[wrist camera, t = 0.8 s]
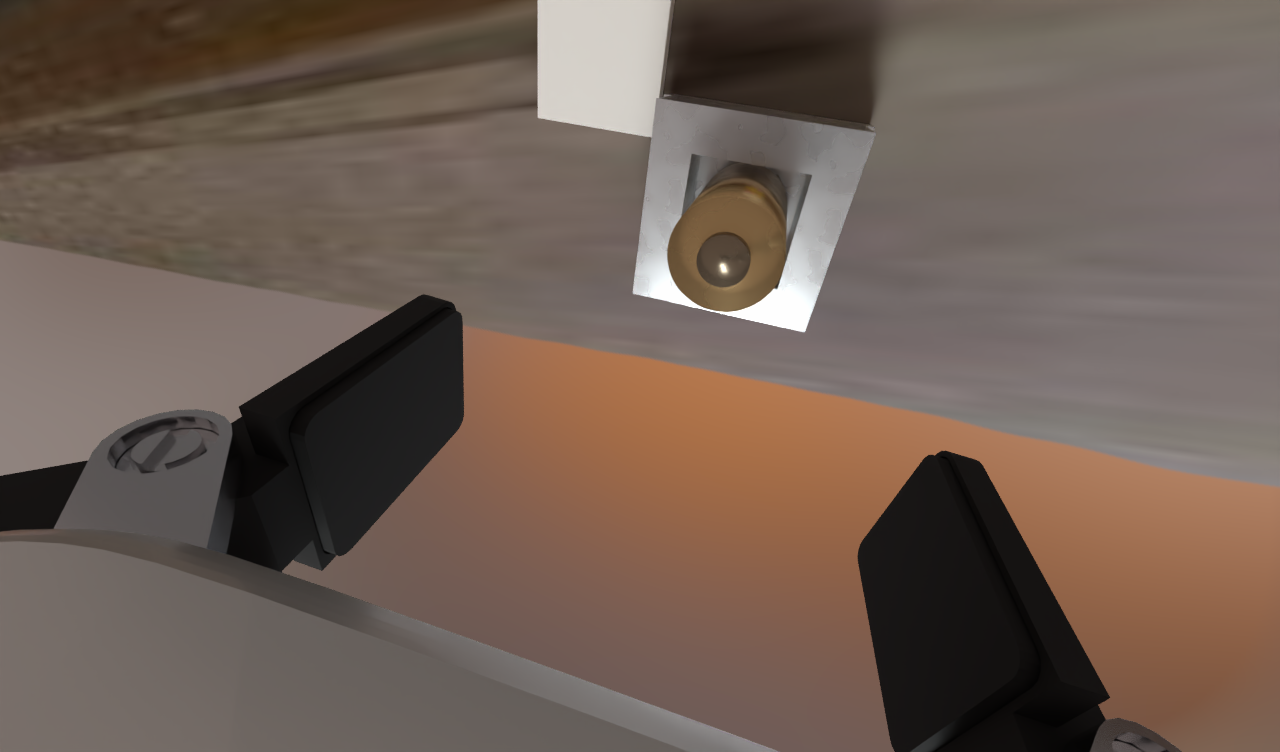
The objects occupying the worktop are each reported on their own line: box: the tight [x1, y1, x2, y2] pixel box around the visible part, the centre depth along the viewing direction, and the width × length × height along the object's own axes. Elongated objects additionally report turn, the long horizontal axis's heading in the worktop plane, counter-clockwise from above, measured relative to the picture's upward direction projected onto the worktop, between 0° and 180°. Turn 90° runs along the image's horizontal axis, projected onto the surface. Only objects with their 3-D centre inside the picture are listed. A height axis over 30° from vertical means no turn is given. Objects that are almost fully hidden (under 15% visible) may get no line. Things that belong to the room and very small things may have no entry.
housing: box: [633, 93, 876, 332], centre depth 29 cm, size 12×11×6 cm
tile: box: [538, 0, 675, 137], centre depth 29 cm, size 8×8×1 cm
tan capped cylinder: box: [667, 163, 787, 312], centre depth 26 cm, size 5×5×11 cm
